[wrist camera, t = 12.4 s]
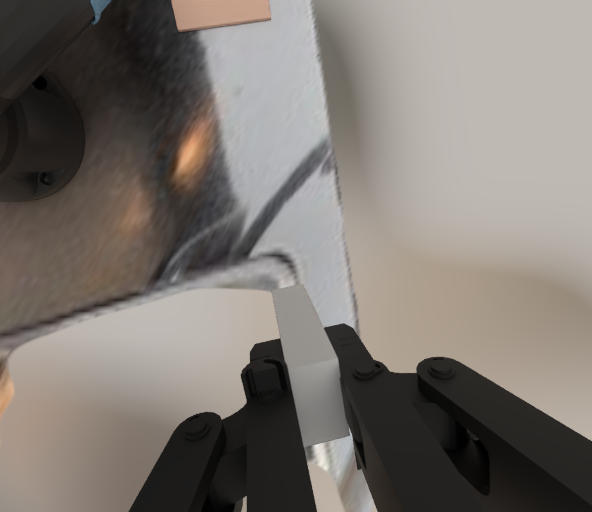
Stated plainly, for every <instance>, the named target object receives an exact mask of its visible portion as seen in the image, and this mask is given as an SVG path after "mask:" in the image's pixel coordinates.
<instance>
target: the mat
mask: <svg viewBox="0 0 592 512" xmlns="http://www.w3.org/2000/svg"><path fill="white" fill-rule="evenodd" d="M171 1H172V6H173V10H174V14H175V19H176V23H177V28H178V31H179V32H185V31H192V30H199V29H206V28H213V27H221V26H228V25H235V24H242V23H249V22H256V21H263V20H271V15H270V9H269V2H268V0H171Z"/></svg>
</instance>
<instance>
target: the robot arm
mask: <svg viewBox="0 0 592 512" xmlns="http://www.w3.org/2000/svg"><path fill="white" fill-rule="evenodd" d="M111 1H112V0H0V202H21V201H28V200H34V199H39V198H43V197H46V196H48V195H51V194H53V193H55V192H57V191H58V190H60V189H61V188H62V187H64V186H65V185H66V184H67V183H68V182H69V181H70V180H71V179H72V177H73V176H74V175H75V173H76V172H77V170H78V168H79V166H80V163H81V160H82V157H83V153H84V144H85V137H84V129H83V124H82V120H81V117H80V114H79V111H78V109H77V107H76V105H75V103H74V101H73V100H72V98H71V96H70V95H69V93H68V92H67V91H66V89H65V88H64V87H63V86H62V85H61V84H60V83H59V82H58V80H57V79H55V78H54V77H53V76H52V75H51V74H50V73H49V72H47V71H46V70H45V69H46V68H47V67H48V66H49V65H50V64H51V63H52V62H53V61H54V60H55V59H56V58H57V57H58V56H59V55H60V54H61V53H62V52H63V51H64V50H65V49H66V48H67V47H68V46H69V45H70V44H71V43H72V42H73V41H74V40H75V39H76V38H77V37H78V36H79V35H80V34H81V32H82V31H83V30H84V29H85V28H86V27H87V26H88V25H89V24H92V25H95V24H96V23H97V22H98V21H99V19H100V16H101V12H102V11H103V10H104V9H105V7H106V6H107V5H108V4H109V3H110V2H111ZM271 291H272V297H273V302H274V307H275V312H276V318H277V322H278V328H279V333H280V339H275V340H271V341H266V342H262V343H258V344H255V345H254V347H253V348H252V350H251V351H250V363H249V364H248V365H247V366H246V367H245V368H244V369H243V370H242V373H241V379H242V383H243V387H244V391H245V395H246V399H247V403H246V404H245V406H244V407H243V408H242V409H240V410H239V411H238V412H236V413H234V414H233V415H231V416H229V417H227V418H225V419H223V420H222V419H221V417H220V416H219V415H217V414H215V413H213V412H204V413H199V414H196V415H193V416H191V417H189V418H187V419H186V420H185V421H183V422H182V423H181V424H179V426H178V427H177V428H176V430H175V431H174V432H173V434H172V436H171V438H170V439H169V441H168V443H167V445H166V446H165V448H164V450H163V452H162V453H161V455H160V457H159V459H158V461H157V462H156V464H155V466H154V468H153V469H152V471H151V473H150V475H149V476H148V478H147V480H146V482H145V484H144V485H143V488H142V489H141V491H140V492H139V494H138V496H137V498H136V499H135V501H134V503H133V505H132V507H131V508H130V510H129V512H241V510H242V505H243V498H244V497H245V496H247V512H317V510H316V505H315V500H314V495H313V490H312V485H311V480H310V475H309V470H308V466H307V460H306V455H305V451H304V447H307V446H311V445H315V444H319V443H323V442H327V441H331V440H335V439H339V438H343V437H347V436H350V433H349V428H350V430H351V433H352V437H353V443H354V450H355V456H356V463H357V469H358V470H360V469H361V468H362V471H363V474H364V476H365V479H366V482H367V484H368V487H369V490H370V492H371V495H372V498H373V500H374V503H375V506H376V508H377V511H378V512H592V441H590V440H588V439H587V438H585V437H584V436H582V435H580V434H579V433H577V432H575V431H574V430H572V429H570V428H569V427H567V426H565V425H564V424H562V423H560V422H559V421H557V420H555V419H554V418H552V417H550V416H549V415H547V414H545V413H544V412H542V411H540V410H539V409H537V408H535V407H534V406H532V405H530V404H529V403H527V402H525V401H524V400H522V399H520V398H519V397H517V396H515V395H514V394H512V393H510V392H509V391H507V390H505V389H504V388H502V387H500V386H498V385H497V384H495V383H494V382H492V381H490V380H489V379H487V378H485V377H484V376H482V375H480V374H479V373H477V372H475V371H474V370H472V369H470V368H469V367H467V366H465V365H463V364H462V363H460V362H458V361H456V360H454V359H451V358H445V357H431V358H428V359H424V360H423V361H421V362H420V363H419V364H418V366H417V373H394V372H390V371H389V370H388V369H387V367H386V366H385V365H384V364H383V363H381V362H379V361H376V360H373V358H372V357H371V355H370V354H369V352H368V350H367V349H366V347H365V346H364V344H363V343H362V342H361V340H360V338H359V337H358V335H357V334H356V332H355V331H354V329H353V328H352V327H350V326H348V325H346V324H344V323H343V324H339V325H334V326H330V327H325V328H323V326H322V324H321V322H320V319H319V317H318V315H317V313H316V311H315V309H314V307H313V305H312V302H311V300H310V298H309V296H308V294H307V292H306V290H305V288H304V285H303V284H300V285H295V286H290V287H286V288H281V289H276V290H271ZM348 425H349V427H348Z"/></svg>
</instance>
